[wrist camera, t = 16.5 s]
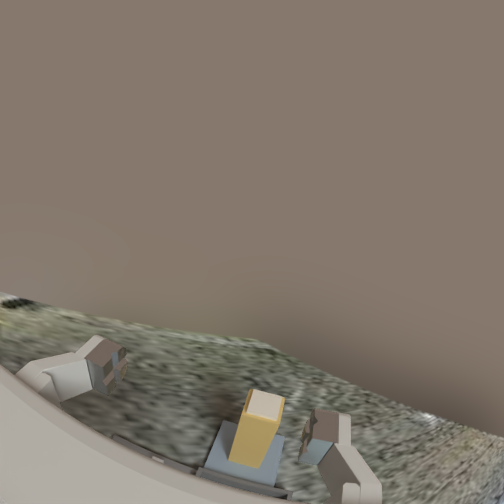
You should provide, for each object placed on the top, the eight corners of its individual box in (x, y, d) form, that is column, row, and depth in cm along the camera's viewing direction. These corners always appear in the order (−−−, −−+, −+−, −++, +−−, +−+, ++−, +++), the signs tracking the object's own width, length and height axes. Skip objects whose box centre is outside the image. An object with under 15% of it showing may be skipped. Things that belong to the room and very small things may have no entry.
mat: (202, 470, 34) (203, 468, 34) (222, 422, 43) (223, 419, 43) (272, 489, 33) (273, 488, 33) (283, 439, 42) (284, 436, 42)
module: (227, 460, 36) (242, 411, 31) (235, 437, 40) (251, 385, 36) (258, 468, 35) (280, 421, 31) (264, 445, 40) (286, 395, 35)
